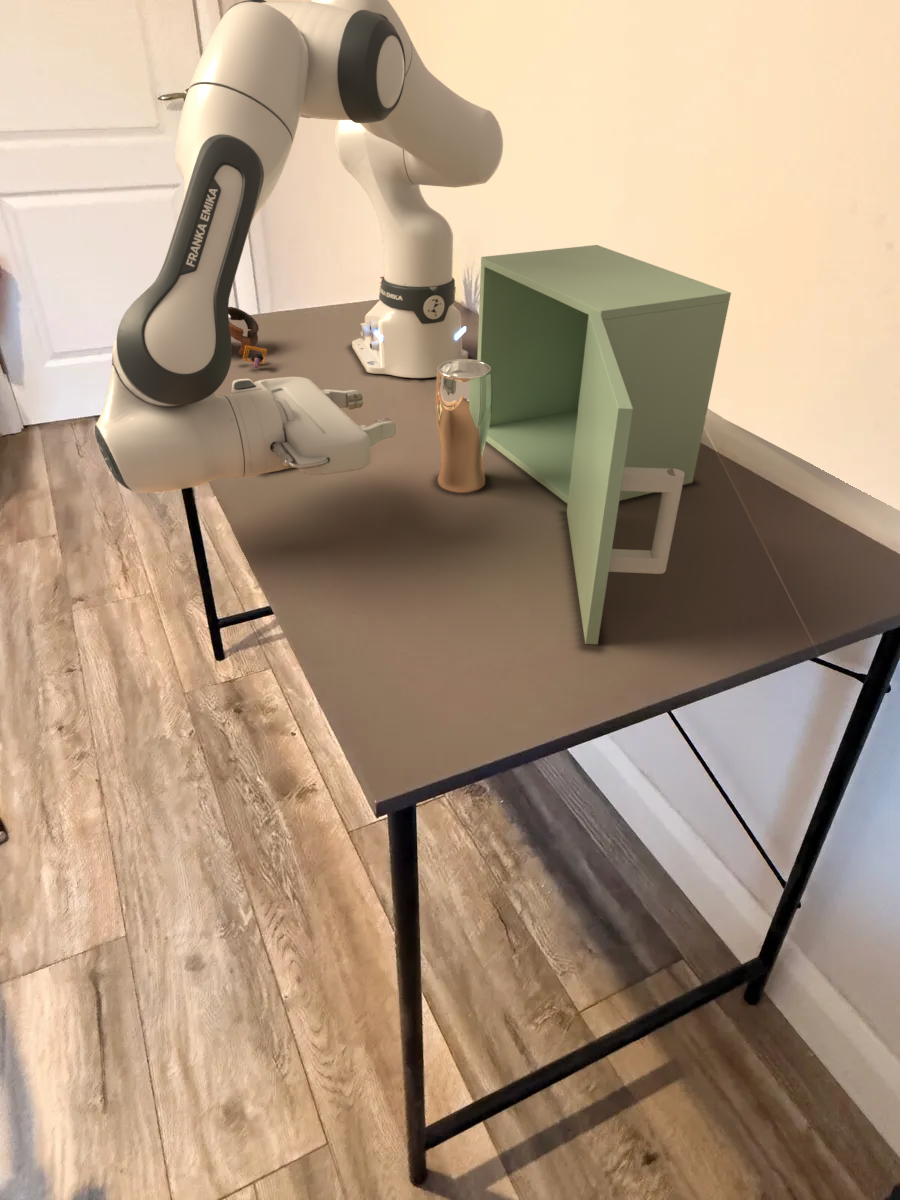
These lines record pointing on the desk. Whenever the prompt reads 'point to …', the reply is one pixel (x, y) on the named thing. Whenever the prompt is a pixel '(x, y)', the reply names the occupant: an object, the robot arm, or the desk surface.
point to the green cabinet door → (609, 483)
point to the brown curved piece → (238, 332)
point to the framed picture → (255, 356)
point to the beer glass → (463, 422)
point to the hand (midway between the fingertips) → (376, 412)
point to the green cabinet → (557, 345)
